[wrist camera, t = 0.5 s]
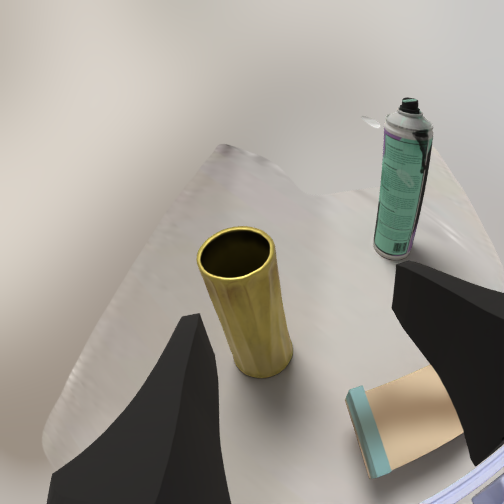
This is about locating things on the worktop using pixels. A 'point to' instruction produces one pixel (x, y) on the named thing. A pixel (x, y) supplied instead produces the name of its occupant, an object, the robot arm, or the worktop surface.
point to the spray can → (402, 179)
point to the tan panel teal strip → (402, 420)
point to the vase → (247, 298)
